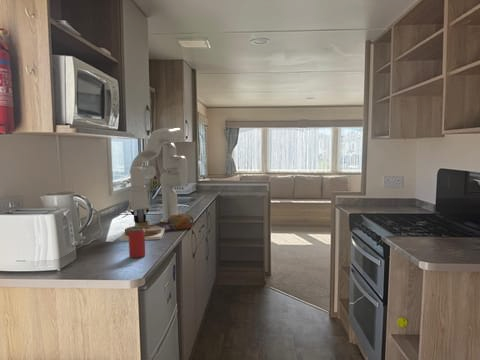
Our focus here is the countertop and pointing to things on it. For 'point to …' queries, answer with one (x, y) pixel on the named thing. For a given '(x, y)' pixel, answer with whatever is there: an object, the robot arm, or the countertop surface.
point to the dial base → (150, 237)
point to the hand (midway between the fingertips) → (140, 221)
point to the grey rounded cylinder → (140, 216)
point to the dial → (145, 228)
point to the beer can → (136, 243)
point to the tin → (180, 221)
